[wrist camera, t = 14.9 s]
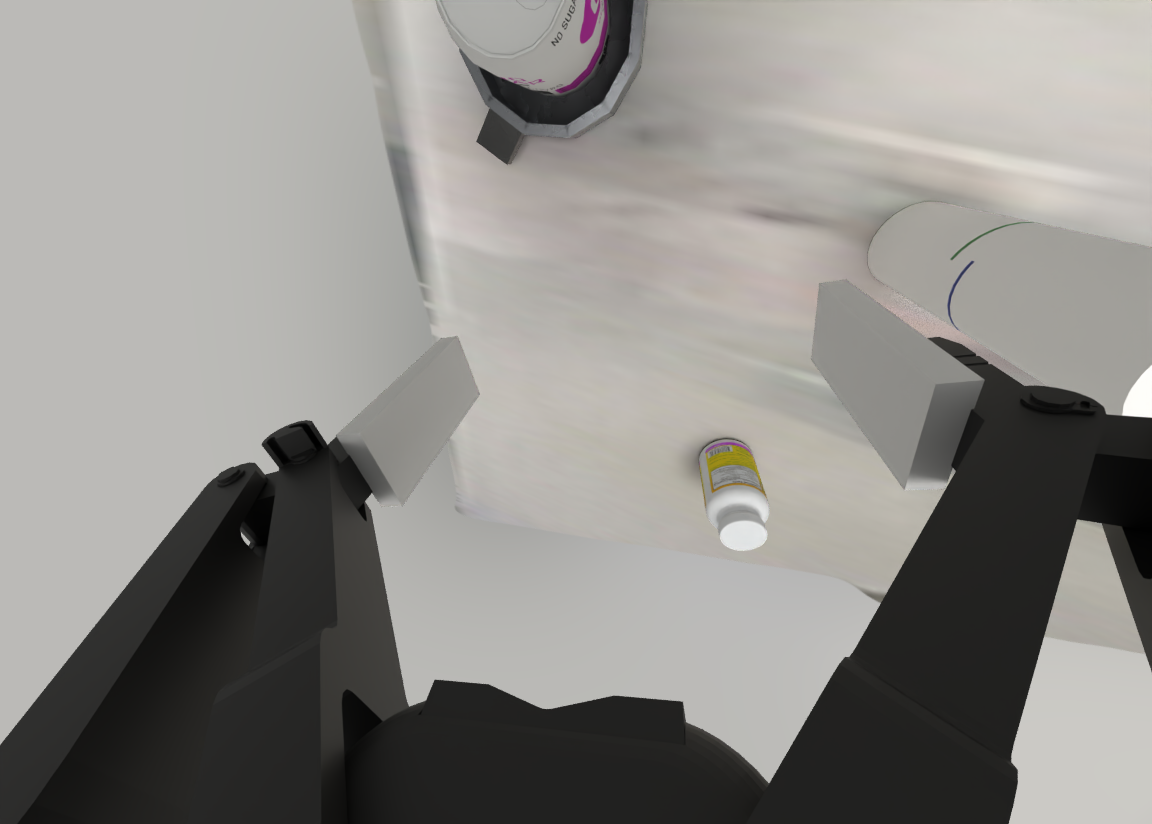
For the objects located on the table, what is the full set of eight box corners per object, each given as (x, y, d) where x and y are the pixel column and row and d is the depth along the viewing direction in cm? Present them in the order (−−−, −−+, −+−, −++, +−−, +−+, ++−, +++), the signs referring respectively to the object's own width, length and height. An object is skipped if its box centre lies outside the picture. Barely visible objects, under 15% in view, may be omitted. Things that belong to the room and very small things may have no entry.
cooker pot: (546, -213, 26) (530, -265, 23) (709, -54, 28) (716, -79, 25) (439, 102, 36) (418, 98, 33) (566, 198, 39) (558, 203, 35)
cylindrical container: (851, 276, 38) (1075, 430, 18) (899, 192, 34) (1260, 269, 14) (925, 293, 38) (1239, 470, 18) (983, 211, 34) (1477, 318, 14)
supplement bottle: (734, 483, 54) (754, 565, 44) (689, 466, 54) (697, 545, 44) (763, 447, 51) (791, 528, 40) (714, 429, 50) (730, 505, 40)
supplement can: (608, -58, 28) (571, -209, 16) (614, 90, 33) (589, 61, 21) (498, -34, 30) (389, -155, 18) (518, 105, 34) (442, 85, 22)
